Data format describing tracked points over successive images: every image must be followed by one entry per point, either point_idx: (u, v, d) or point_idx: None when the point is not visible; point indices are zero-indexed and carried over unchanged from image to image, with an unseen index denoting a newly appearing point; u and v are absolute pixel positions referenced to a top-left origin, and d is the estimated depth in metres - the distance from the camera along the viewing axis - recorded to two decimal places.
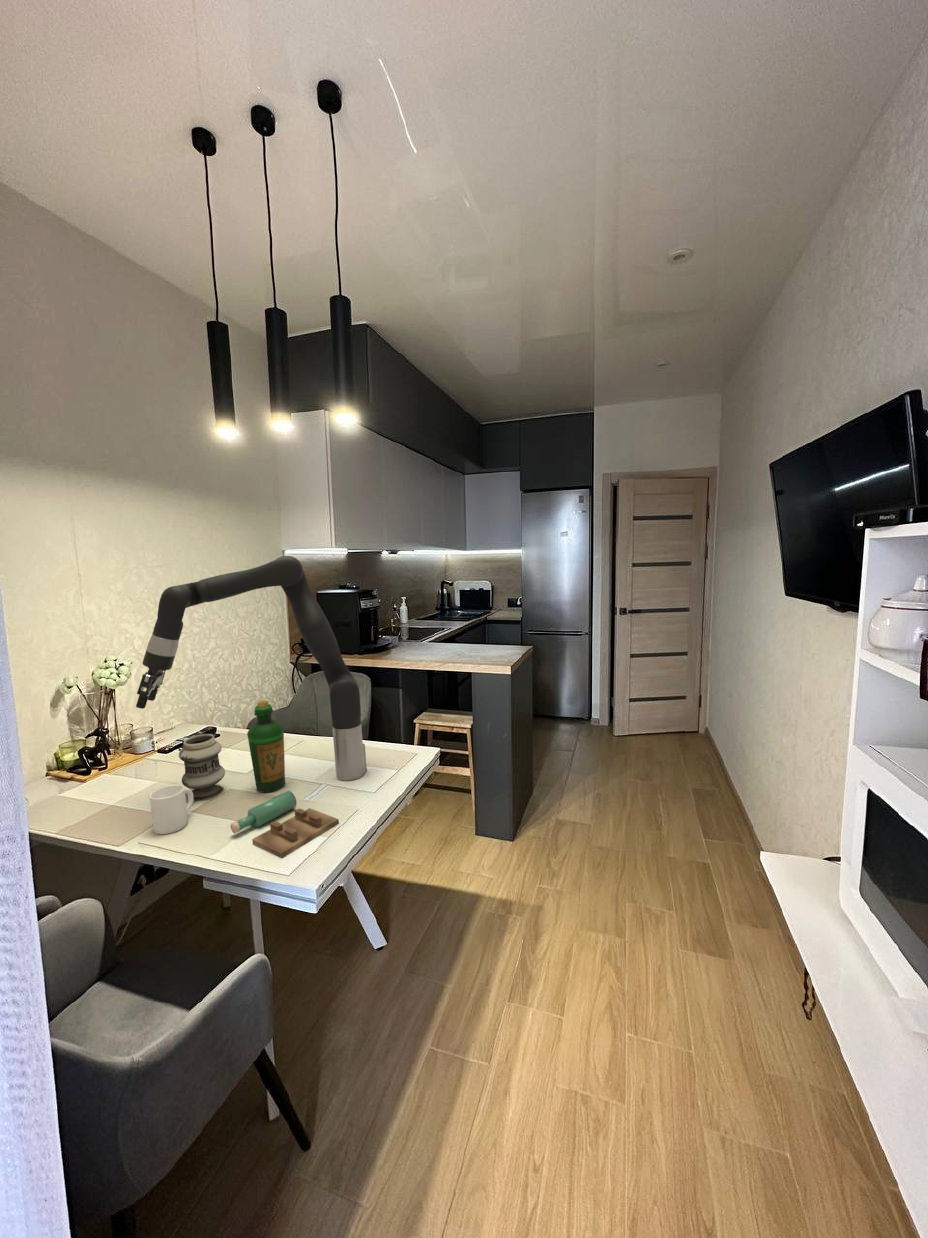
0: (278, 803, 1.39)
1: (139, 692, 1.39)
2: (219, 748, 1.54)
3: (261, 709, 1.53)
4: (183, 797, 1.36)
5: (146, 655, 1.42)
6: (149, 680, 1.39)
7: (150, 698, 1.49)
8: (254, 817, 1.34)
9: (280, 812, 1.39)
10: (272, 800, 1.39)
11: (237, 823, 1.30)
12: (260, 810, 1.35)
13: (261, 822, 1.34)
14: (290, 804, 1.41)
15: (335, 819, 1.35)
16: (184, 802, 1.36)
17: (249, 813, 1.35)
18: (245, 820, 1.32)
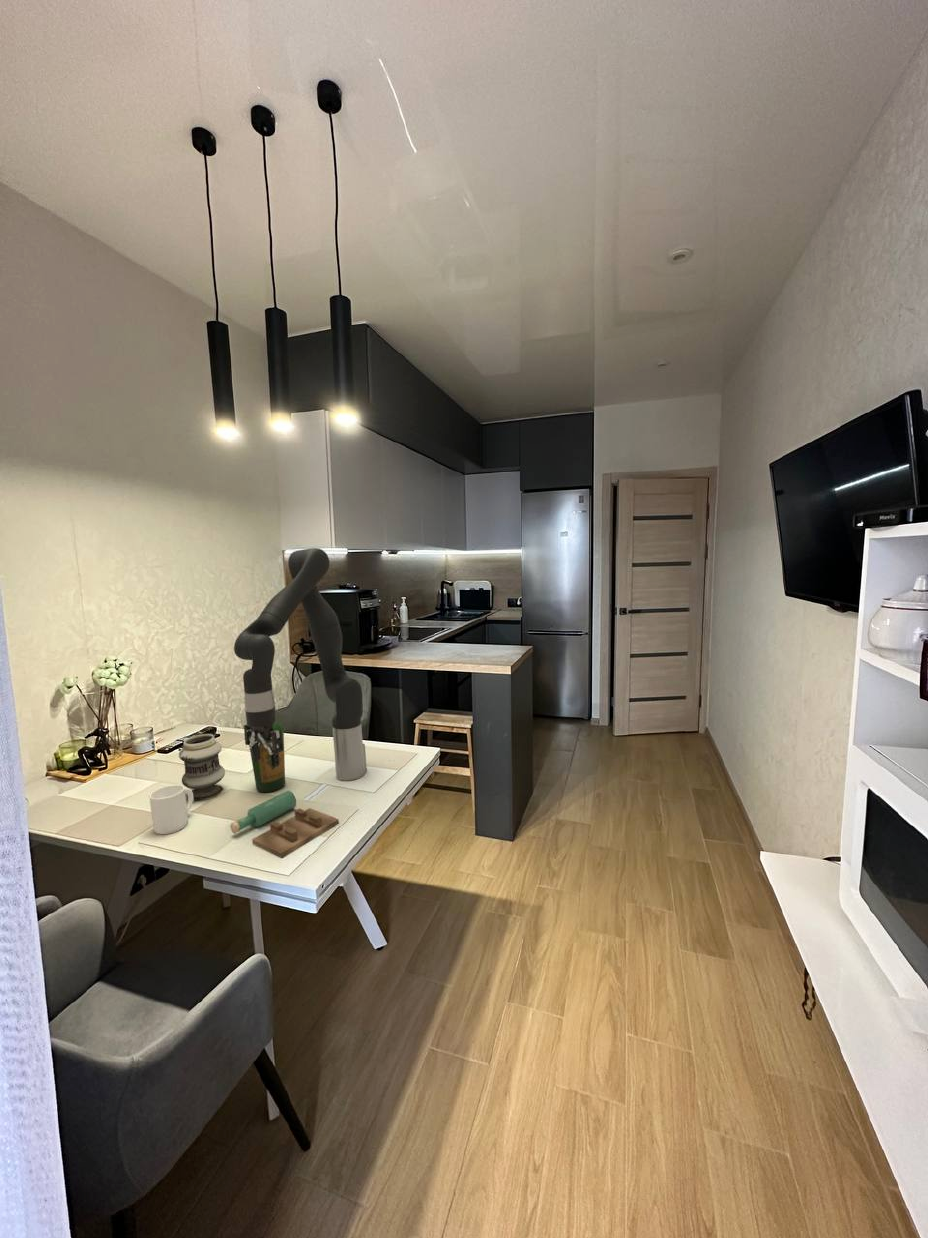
0: (277, 803, 1.39)
1: (277, 751, 1.32)
2: (219, 748, 1.54)
3: None
4: (183, 797, 1.36)
5: (256, 716, 1.32)
6: (280, 735, 1.33)
7: (257, 758, 1.39)
8: (254, 817, 1.34)
9: (279, 812, 1.39)
10: (272, 800, 1.39)
11: (237, 823, 1.30)
12: (260, 810, 1.35)
13: (261, 822, 1.34)
14: (290, 804, 1.41)
15: (335, 819, 1.35)
16: (184, 802, 1.36)
17: (249, 813, 1.35)
18: (245, 820, 1.32)
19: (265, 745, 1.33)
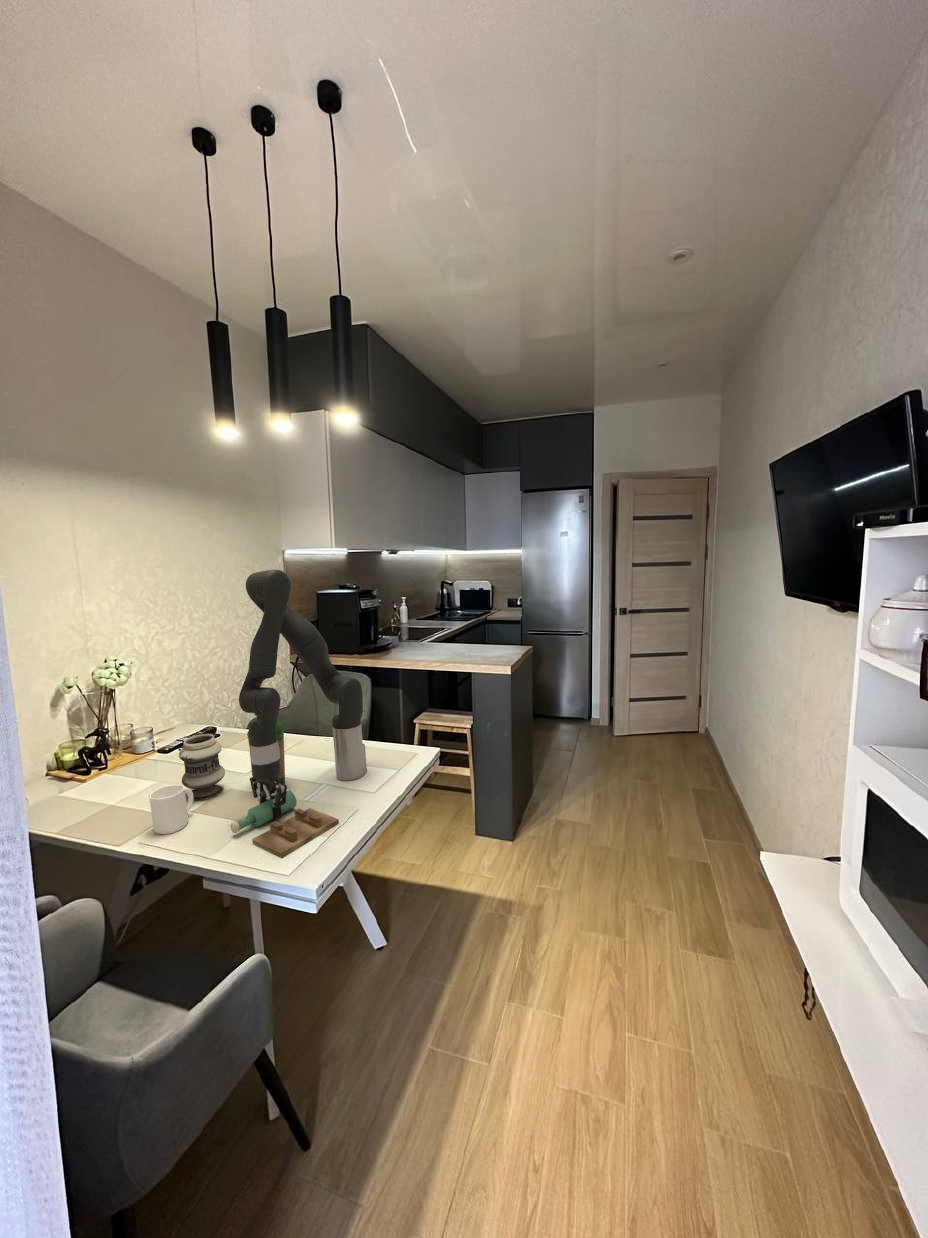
0: None
1: (279, 804, 1.35)
2: (219, 748, 1.54)
3: None
4: (183, 797, 1.36)
5: (262, 769, 1.34)
6: (285, 790, 1.35)
7: None
8: (254, 817, 1.34)
9: None
10: None
11: (237, 823, 1.30)
12: (260, 810, 1.35)
13: (261, 821, 1.34)
14: (290, 804, 1.41)
15: (335, 819, 1.35)
16: (184, 802, 1.36)
17: (249, 813, 1.35)
18: (245, 820, 1.32)
19: (269, 798, 1.36)
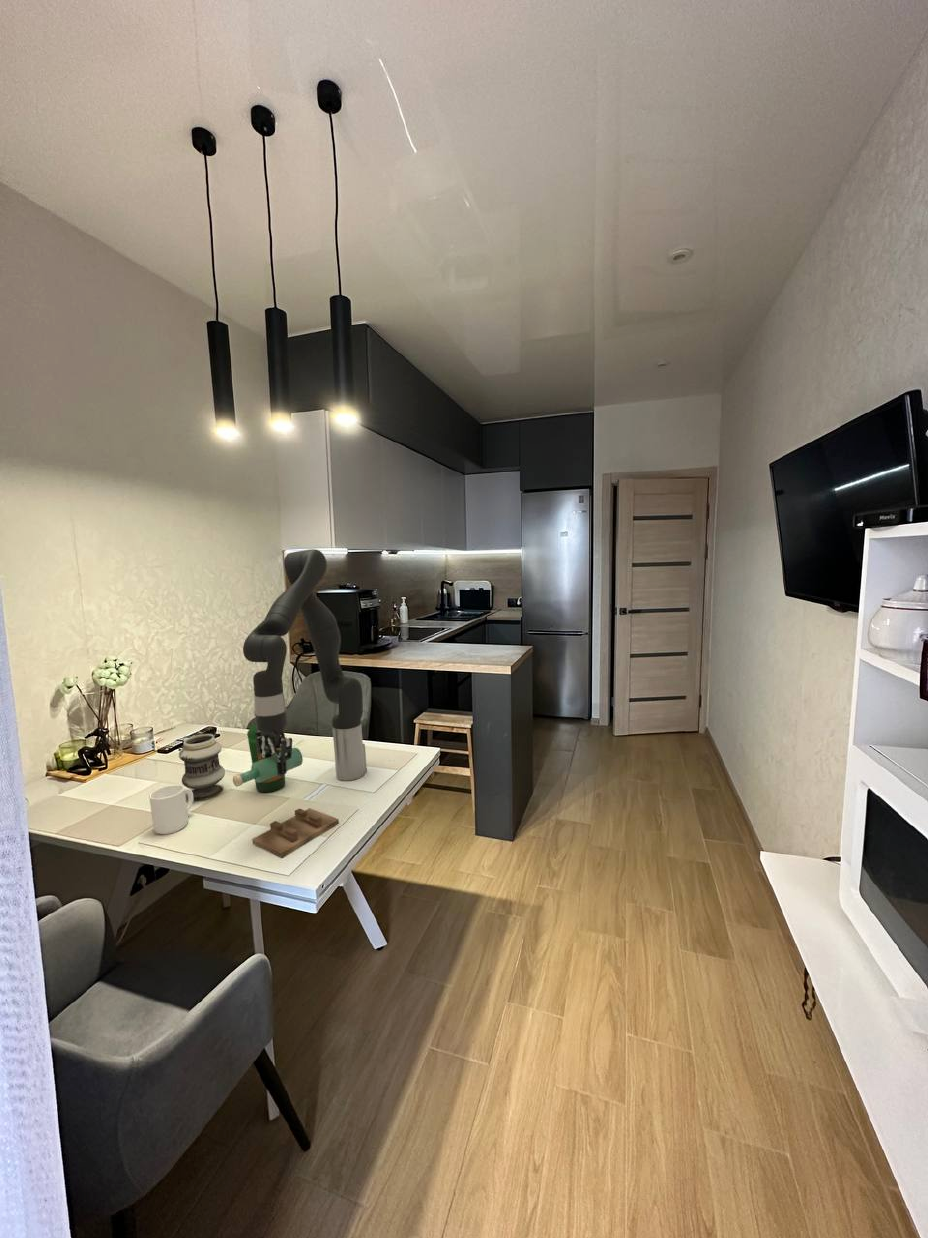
0: None
1: (284, 759, 1.28)
2: (219, 748, 1.54)
3: None
4: (183, 797, 1.36)
5: (266, 720, 1.27)
6: (290, 744, 1.28)
7: None
8: (257, 771, 1.27)
9: None
10: None
11: (239, 776, 1.23)
12: (264, 764, 1.28)
13: (265, 776, 1.27)
14: (296, 761, 1.34)
15: (335, 819, 1.35)
16: (184, 802, 1.36)
17: (252, 767, 1.29)
18: (248, 773, 1.25)
19: (273, 752, 1.29)
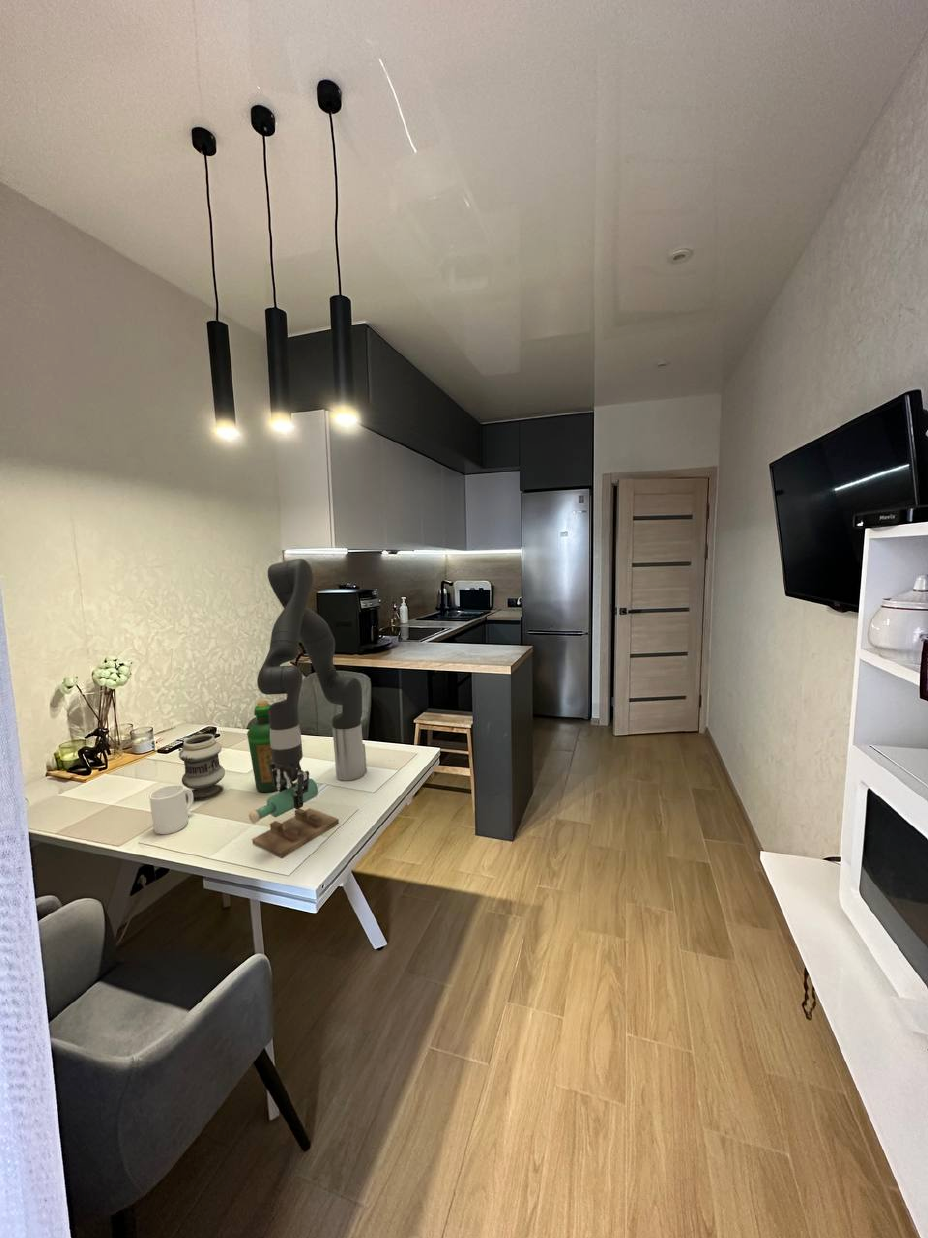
0: None
1: (301, 793, 1.25)
2: (219, 748, 1.54)
3: (261, 709, 1.53)
4: (183, 797, 1.36)
5: (283, 754, 1.24)
6: (307, 777, 1.25)
7: None
8: (274, 806, 1.24)
9: None
10: None
11: (256, 812, 1.20)
12: (281, 798, 1.25)
13: (281, 811, 1.24)
14: (312, 793, 1.31)
15: (335, 819, 1.35)
16: (184, 802, 1.36)
17: (268, 802, 1.25)
18: (264, 809, 1.22)
19: (290, 785, 1.26)
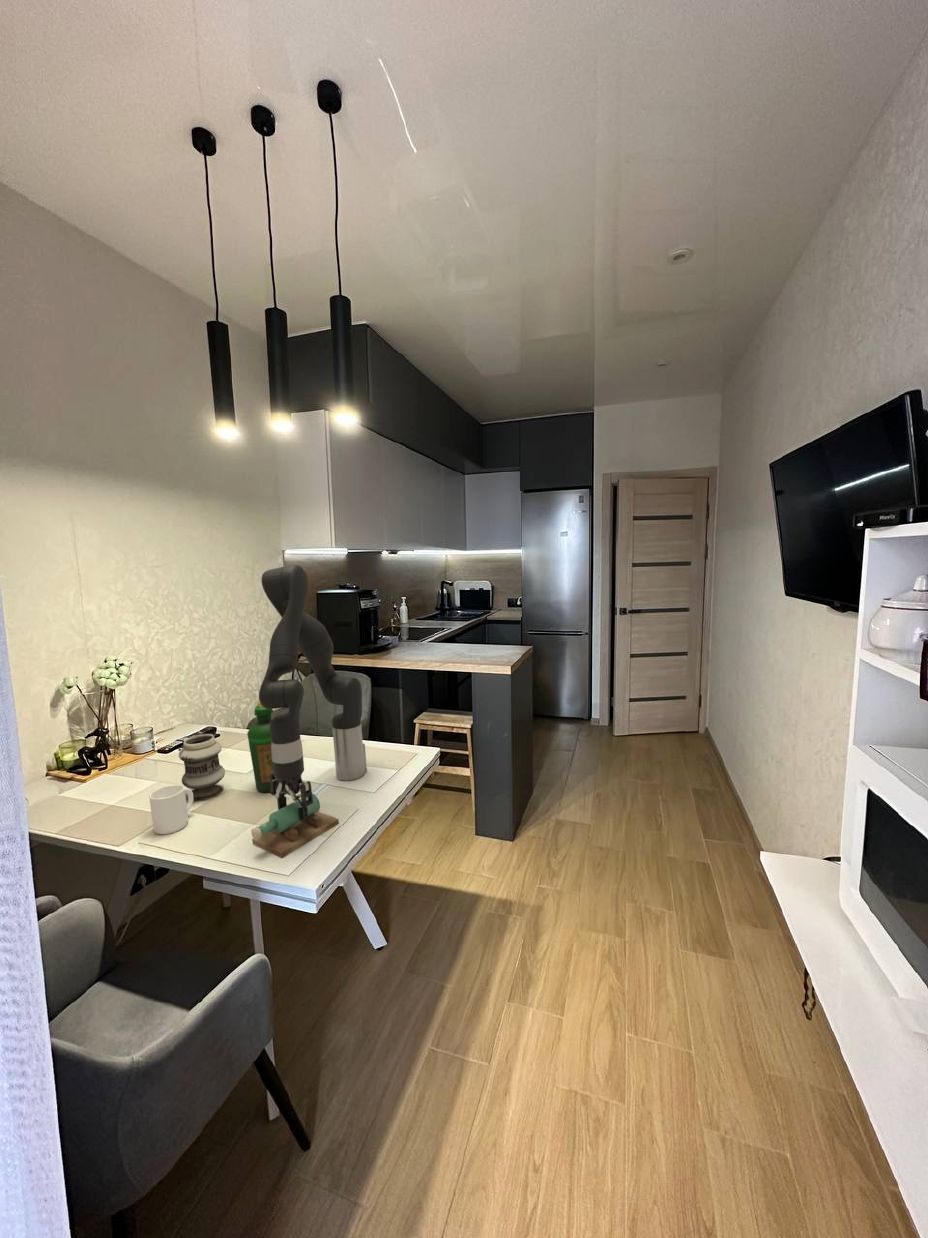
0: None
1: (306, 804, 1.24)
2: (219, 748, 1.54)
3: (261, 709, 1.53)
4: (183, 797, 1.36)
5: (284, 768, 1.24)
6: (309, 787, 1.25)
7: None
8: (276, 822, 1.24)
9: None
10: (294, 803, 1.30)
11: (258, 829, 1.21)
12: (283, 815, 1.25)
13: (284, 827, 1.25)
14: (314, 808, 1.32)
15: (335, 819, 1.35)
16: (184, 802, 1.36)
17: (270, 818, 1.26)
18: (267, 825, 1.23)
19: (293, 798, 1.26)
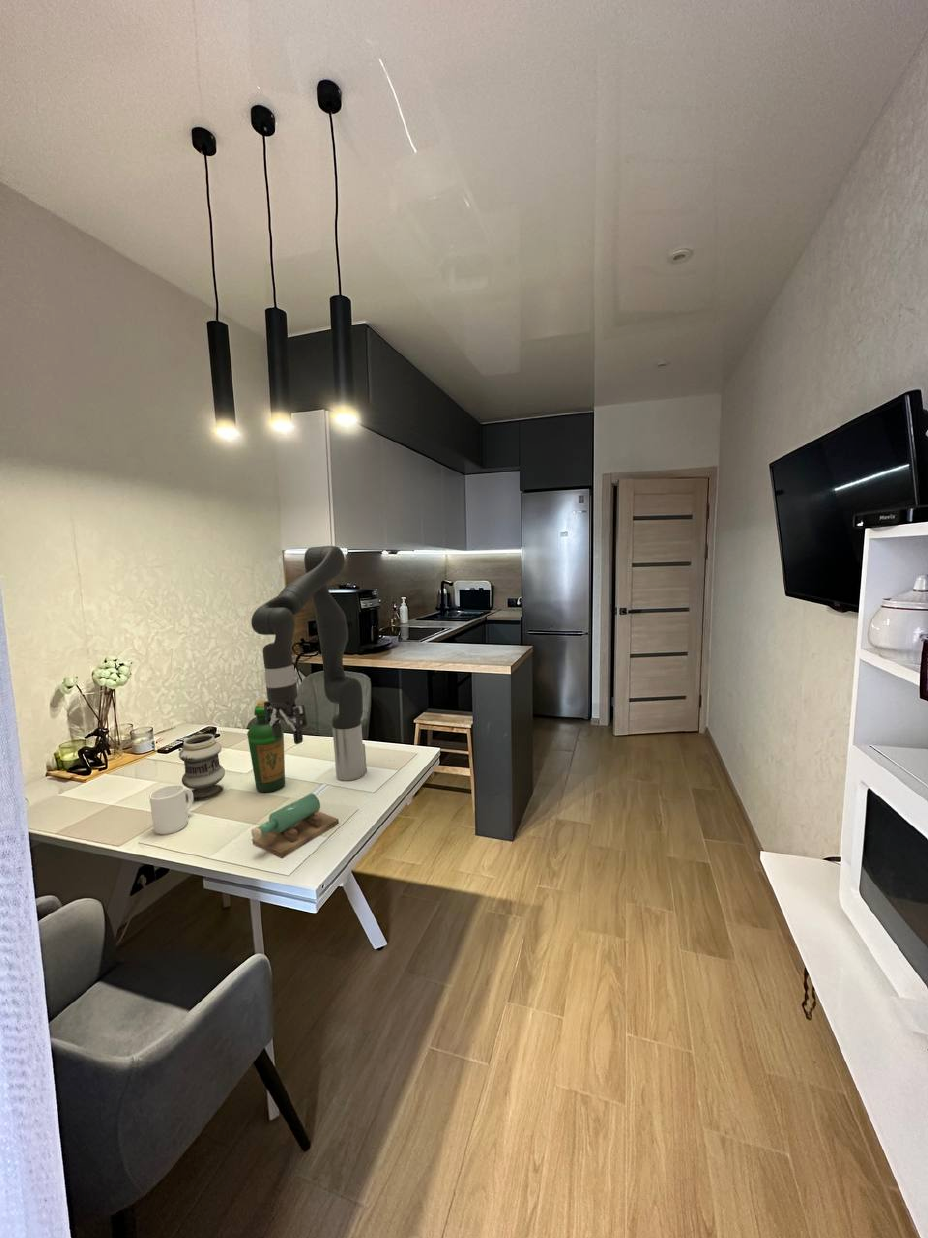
0: (301, 807, 1.29)
1: (301, 726, 1.29)
2: (219, 748, 1.54)
3: (261, 709, 1.53)
4: (183, 797, 1.36)
5: (278, 692, 1.28)
6: (303, 710, 1.30)
7: (278, 736, 1.36)
8: (276, 822, 1.24)
9: (303, 817, 1.29)
10: (294, 803, 1.30)
11: (258, 829, 1.21)
12: (283, 815, 1.25)
13: (284, 827, 1.25)
14: (314, 808, 1.32)
15: (335, 819, 1.35)
16: (184, 802, 1.36)
17: (270, 818, 1.26)
18: (267, 825, 1.23)
19: (288, 721, 1.30)
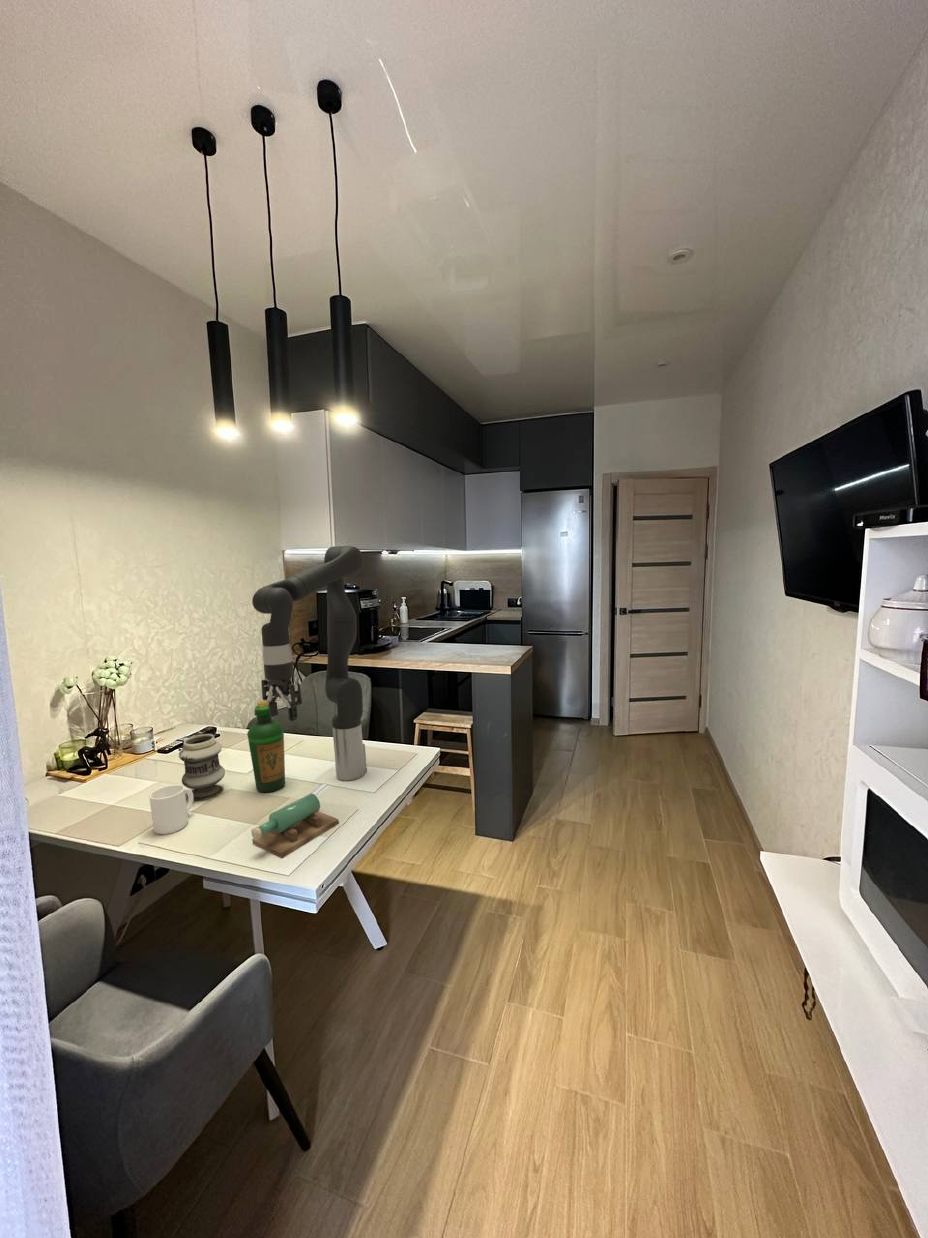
0: (301, 807, 1.29)
1: (295, 703, 1.33)
2: (219, 748, 1.54)
3: (261, 709, 1.53)
4: (183, 797, 1.36)
5: (275, 669, 1.32)
6: (298, 688, 1.33)
7: (274, 713, 1.40)
8: (276, 822, 1.24)
9: (303, 817, 1.29)
10: (294, 803, 1.30)
11: (258, 829, 1.21)
12: (283, 815, 1.25)
13: (284, 827, 1.25)
14: (314, 808, 1.32)
15: (335, 819, 1.35)
16: (184, 802, 1.36)
17: (270, 818, 1.26)
18: (267, 825, 1.23)
19: (283, 698, 1.34)
